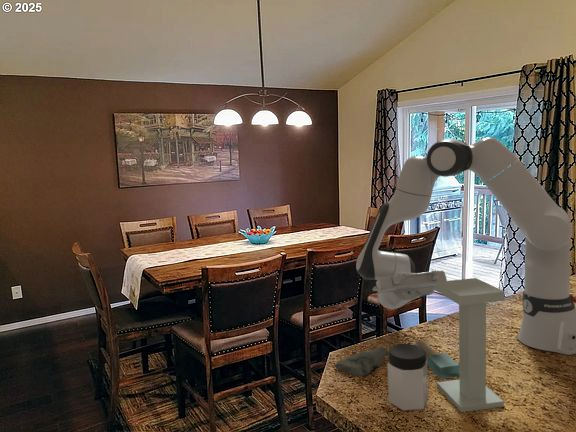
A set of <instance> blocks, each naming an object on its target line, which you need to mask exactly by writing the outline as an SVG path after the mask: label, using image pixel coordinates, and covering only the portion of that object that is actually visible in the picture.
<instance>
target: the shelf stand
mask: <svg viewBox="0 0 576 432" xmlns="http://www.w3.org/2000/svg"><path fill="white" fill-rule="evenodd" d="M435 291H436V292H438V293H440V294H441V295H443V296H444V297H446V298H448V299H449V300H451V301H452V302H454V303H456V304H458V332H459V334H458V338H459V339H458V341H459V342H458V346H459V347H458V348H459V349H458V351H459V353H458V355H459V357H458V358H459V359H458V360H459V364H458V365H459V376H458V378H459V379H453V380H452V379H451V380H445V381H437V382H436V388H438V390H439V391H440V392H441V393H442V394H443V395H444V397H446V398H447V399H448V400H449V402H451V404H454V405H455V406H456V407H457V408H456V407H455V406H454V405H453V406H454V407H455V408H456V409H457V410H458V411H459V412H460V413H467V412H466V411H468V412H473V411H480V410H488V409H495V408H502V407H504V406H505V401H504V400H503V399H502V398H500V397H499V396H498V394H496V393H495V392H494V391H493V390H492V389H490V388H489V387H488V386H487V378H486V377H487V341H486V340H487V303H495V302H505V299H506V297H505V294H506V293H505V292H506V291H504V290H503V289H500V288H498V287H496V286H494V285H491V284H489V283H487V282H485V281H483V280H481V279H479V278H478V277H477V278H476V277H471V278H463V279H453V280H447V281H441V282H436V290H435Z"/></svg>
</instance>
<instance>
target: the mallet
mask: <svg viewBox="0 0 576 432" xmlns="http://www.w3.org/2000/svg"><path fill="white" fill-rule="evenodd" d="M414 342H415V344H414V345H416V346H419V347H421V348H423V349H424V350H425V352H426V361H427V368H429V370H431V371H432V372H433V373H434V375H436V376H437V377H438V378H439V379H440V380H442V379H450V378H457V377H458V378H459V364H458V363H457V362H456V361H455V360H454V359H453V358H452V357H450V356H449V355H448V354H447V353H438V352H437V351H436V350H435V349H434V348H432V346H431V345H429V344H428V343H427V342H426V341H425V340H416V341H414Z"/></svg>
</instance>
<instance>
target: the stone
mask: <svg viewBox="0 0 576 432" xmlns="http://www.w3.org/2000/svg"><path fill="white" fill-rule="evenodd" d="M388 354H389V351H388V350H387V348H386V347H379V348H378V347H376V348H372V349H371V350H365V351H361V352H359V353H355V354H353V355H351V356H348V357H346V358H345V359H341V360H338V362H336V363H335V365H334V367H335V368H336V369H337V370H340V371H342V372H345V373H347V374H351V375H353V376H356V377H360V378H361V377H364V376H367V375H369V374H370V373H371V372H372V369H375V368H379V367H380V366H381V365H382V363H383V361H385V358H386V356H388Z"/></svg>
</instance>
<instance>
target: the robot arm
mask: <svg viewBox="0 0 576 432" xmlns="http://www.w3.org/2000/svg"><path fill="white" fill-rule="evenodd" d="M426 153H427V154H426V156H422V155H415V156H411V157H409V158H407V159H406V160H405V162H404V164H403V166H402V169H401V170H400V173H399V177H398V180H397V183H396V188H395V191H394V193H393V195H392V197H391V198H390V199H389V200H388V201H387V202H384V203H383V204H382V205H381V206H380V207H379V209H378V211H377V213H376V215H375V218H374V221H373V223H372V226H371V228H370V230H369V232H368V235H367V237H366V240H365V242H364V245H363V247H362V249H361V251H360V252H359V255H358V257H357V259H356V263H355V265H356V269H355V270H356V272H357V273H358V275H360V277H361V278H362V279H364V280H370V281H371V280H373V281H375V280H376V281H375V284H376V285H375V286H374V287H372V291H373V292H377V300H378V302H379V303H380V305H382V306H383V307H384V308H386V309H389V310H395V309H398V308H399V309H400V308H402V307H403V306H405V305H406V304H408V303H409V302H411V301H414V300H416V299H418V298H422V297H427V296H430V295H433V294H434V292H435V291H436V282H441V281H448V279H447V276H446V273H445V272H446V271H444V270H438V269H435V270H431V271H426V272H416V266H415V263H414V261H413V259H412V258H411V257H410V256H409V255H408V254H405V253H401V252H395V251H394V252H392V251H386V250H379V248H380V245H381V243H382V241H383V238H384V236H385V233H386V231H387V230H388V228H389V227H391V226H392V225H395V224H397V223H402V222H406V221H407V222H408V221H412V220H415V219H417V218H419V217H421V216H423V214H425V213H426V212H427V210H428V208H429V205H430V203H431V199H432V194H433V190H434V186H435V183H436V181H437V179H438V178H440V177H443V178H445V177H453V176H457V175H459V174H461V173H463V172H465V171H471V172H473V173H474V174H475V175H476V176H477V177H478V178H479V179H480V180H481V182H482V183H483V184H484V185H485V187H487V189H488V190H489V191H490V192H491V193H492V195H493V196H494V197H495V198H496V199H497V201H498V202H499V203H500V204H501V206H502V207H503V208H504V210H505V211H506V213H508V215H509V217H510V218H511V219H512V221H513V222H514V224H515V225H516V226H517V228H518V229H519V230H520V232H521V233H522V234H523V236H524V237H525V245H524V246H525V248H524V290H523V291H522V309H523V310H522V311H523V312H522V321H521V324H520V329H519V330H518V331H519V332H518V335H517V340H518V341H519V342H520V343H521V344H523V345H525V346H528V347H531V348H533V349H536V350H540V351H546V352H554V353H558V354H562V355H567V356H572V355H575V354H576V305H575V303H576V295H574V296H573V295H572V294H570V289H571V288H570V286H571V278H570V277H571V255H570V253H571V238H572V236H573V231H574V229H573V224H572V222H571V219H570V216H569V215H568V213H567V212H566V211H565V209H563V208H562V207H560V206H559V205H558V204H557V203H556V202H555V201H554V200H553V198H552V197H551V196H550V194H548V192H547V190H546V189H544V187H543V186H542V185H541V183H540V182H539V181H538V180H537V179H536V177H535V176H534V175H533V174H532V173H531V171H529V170H528V168H527V166H525V165H524V164H523V162H522V161H521V160H519V158H518V157H517V156H516V155H515V154H514V153H513V152H512V151H511V150H510V149H509V148H508V147H507V146H506V145H504V144H503V143H502V142H501V141H500V140H498V139H497V138H495V137H493V136H488V137H483V138H481V139H478V140H477V141H476V142H474V143H472V144H468V143H466V142H465V141H463V140H461V139H456V138H445V139H441V140H438V141H436V142H435V143H433V144H432V145H431V146H430V147H429V149H428V151H427V152H426Z"/></svg>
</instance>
